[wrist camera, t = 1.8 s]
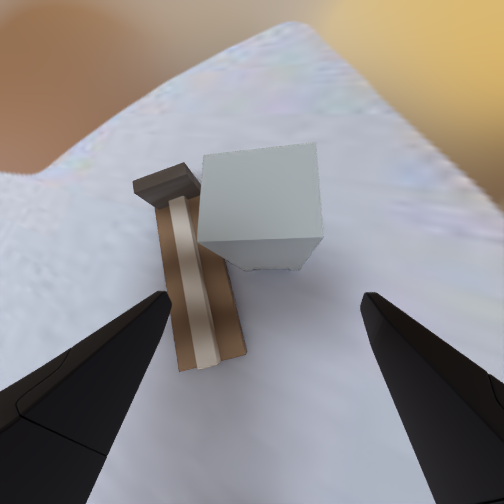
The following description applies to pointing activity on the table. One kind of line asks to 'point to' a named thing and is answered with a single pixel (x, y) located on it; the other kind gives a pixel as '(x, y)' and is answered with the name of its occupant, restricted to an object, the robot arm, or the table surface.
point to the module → (261, 206)
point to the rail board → (192, 273)
